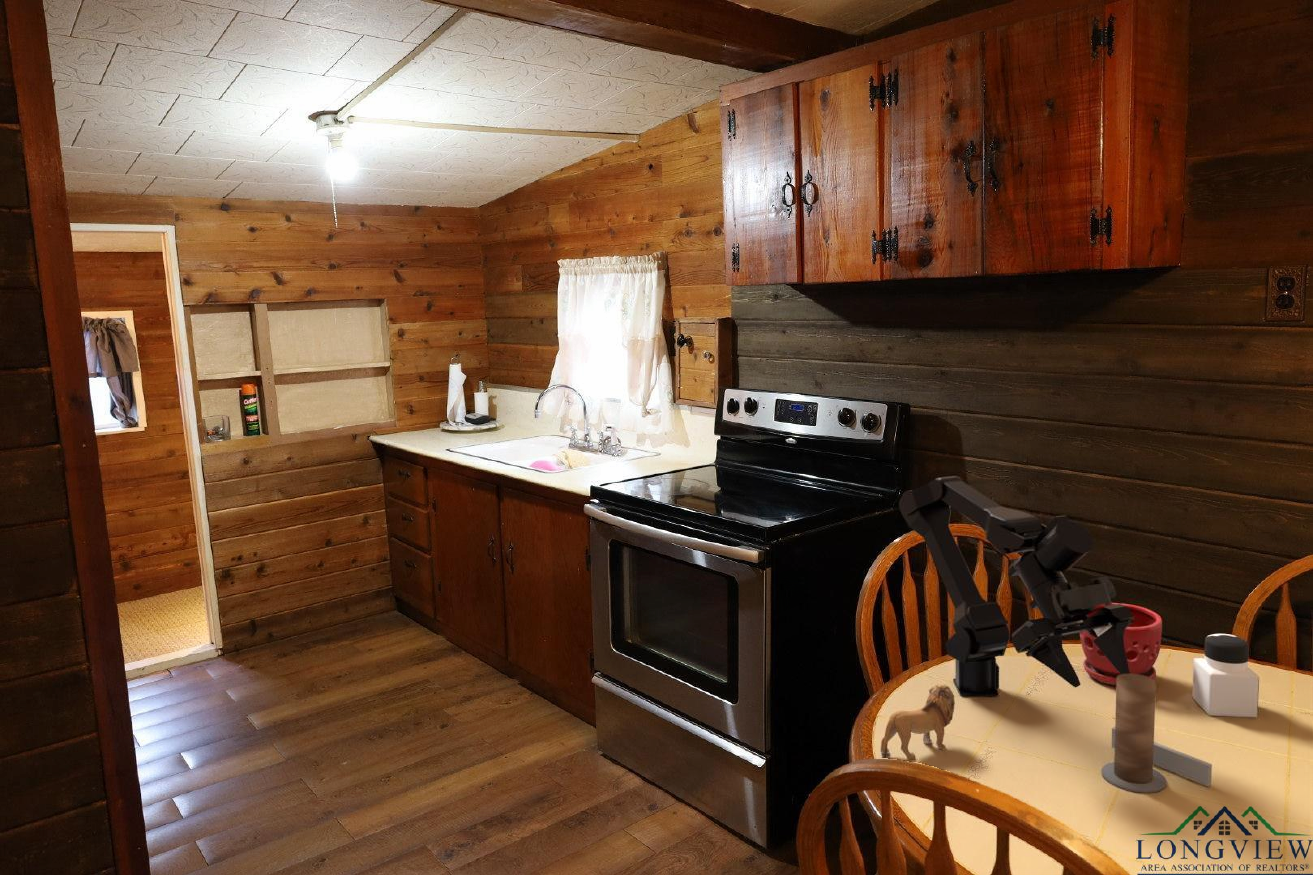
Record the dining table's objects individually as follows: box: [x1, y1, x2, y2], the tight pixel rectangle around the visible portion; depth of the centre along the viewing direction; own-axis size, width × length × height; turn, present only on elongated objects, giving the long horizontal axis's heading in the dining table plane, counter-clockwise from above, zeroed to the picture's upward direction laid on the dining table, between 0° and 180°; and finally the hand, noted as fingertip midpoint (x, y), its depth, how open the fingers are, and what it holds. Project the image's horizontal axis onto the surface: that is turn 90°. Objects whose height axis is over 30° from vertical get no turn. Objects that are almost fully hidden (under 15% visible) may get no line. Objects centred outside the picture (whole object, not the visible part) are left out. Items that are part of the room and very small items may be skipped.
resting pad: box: [1101, 761, 1167, 794], centre depth 125 cm, size 8×8×1 cm
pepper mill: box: [1113, 674, 1157, 784], centre depth 124 cm, size 5×5×14 cm
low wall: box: [1111, 726, 1213, 787], centre depth 128 cm, size 14×1×3 cm, turn 30°
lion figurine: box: [880, 683, 955, 760], centre depth 135 cm, size 15×5×9 cm, turn 121°
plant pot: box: [1078, 602, 1163, 686], centre depth 158 cm, size 13×13×12 cm
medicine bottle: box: [1191, 633, 1260, 719], centre depth 144 cm, size 7×7×12 cm
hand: (1102, 680), depth 128 cm, fingers open, 9 cm apart
